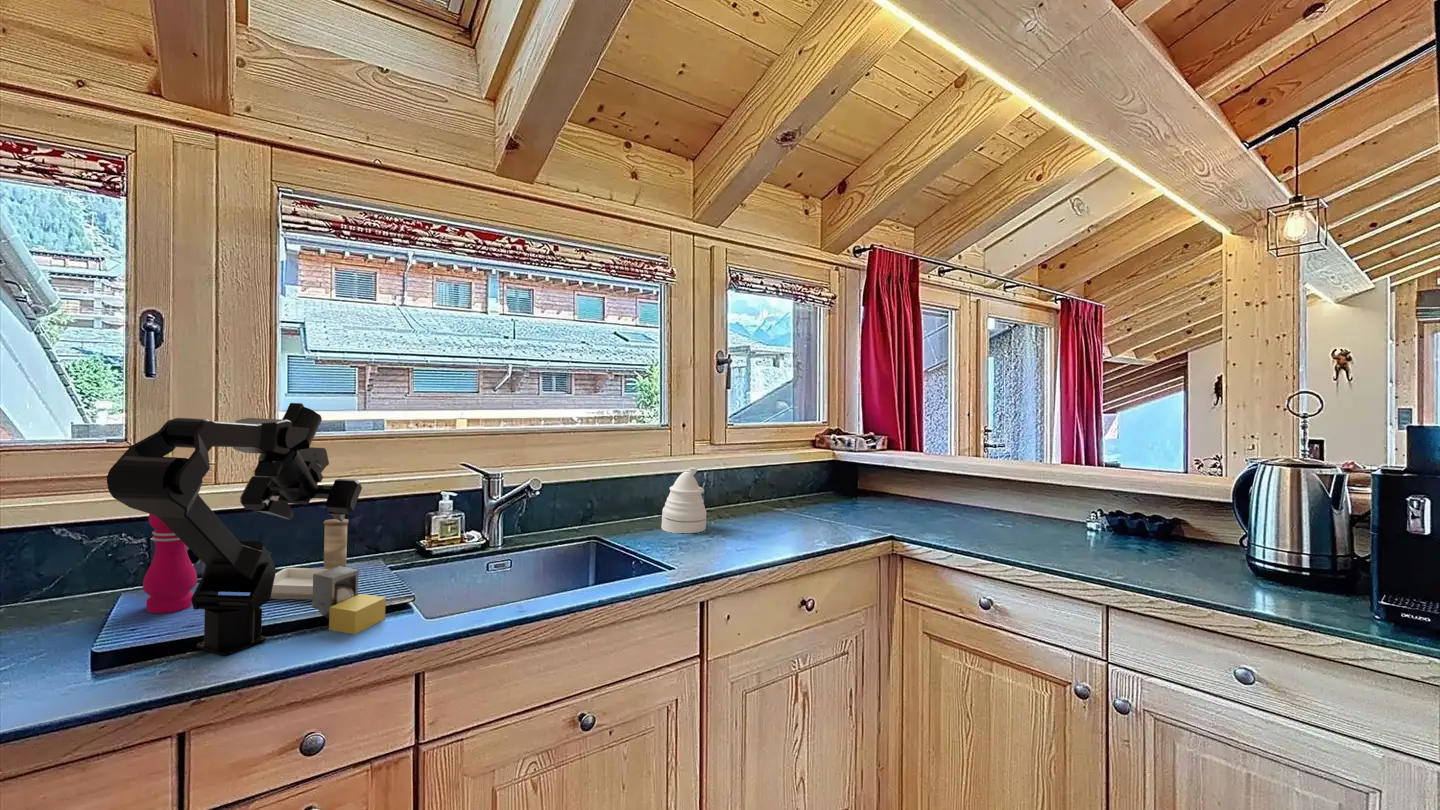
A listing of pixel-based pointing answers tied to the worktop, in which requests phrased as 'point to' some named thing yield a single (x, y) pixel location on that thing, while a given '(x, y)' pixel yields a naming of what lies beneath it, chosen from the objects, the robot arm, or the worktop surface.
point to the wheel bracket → (333, 588)
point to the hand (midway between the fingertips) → (317, 518)
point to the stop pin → (335, 543)
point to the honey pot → (684, 506)
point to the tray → (294, 583)
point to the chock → (357, 613)
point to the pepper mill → (168, 572)
